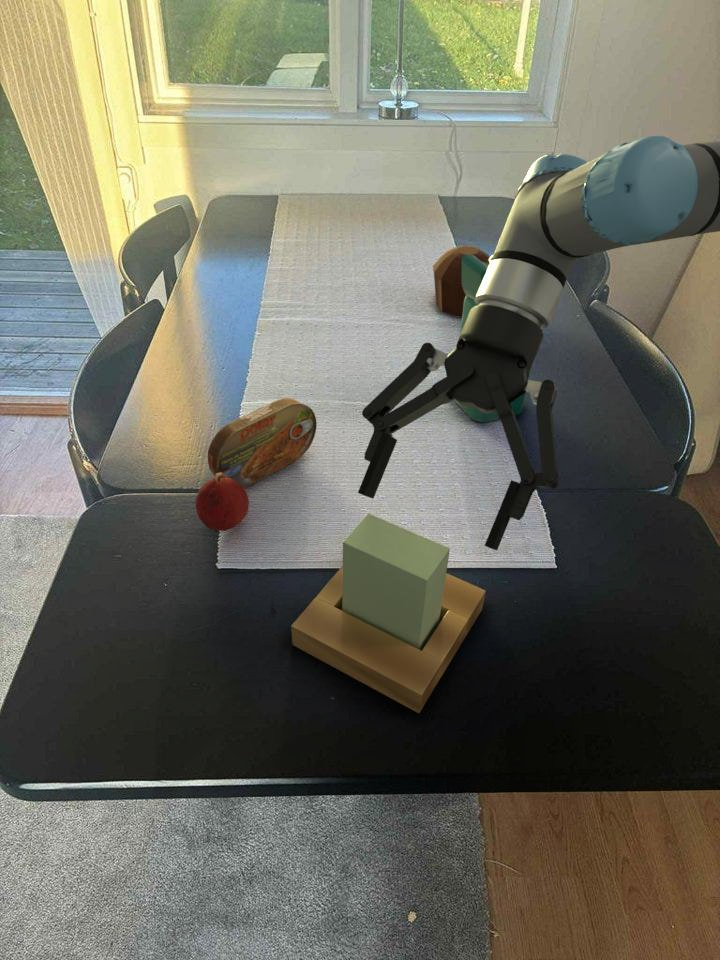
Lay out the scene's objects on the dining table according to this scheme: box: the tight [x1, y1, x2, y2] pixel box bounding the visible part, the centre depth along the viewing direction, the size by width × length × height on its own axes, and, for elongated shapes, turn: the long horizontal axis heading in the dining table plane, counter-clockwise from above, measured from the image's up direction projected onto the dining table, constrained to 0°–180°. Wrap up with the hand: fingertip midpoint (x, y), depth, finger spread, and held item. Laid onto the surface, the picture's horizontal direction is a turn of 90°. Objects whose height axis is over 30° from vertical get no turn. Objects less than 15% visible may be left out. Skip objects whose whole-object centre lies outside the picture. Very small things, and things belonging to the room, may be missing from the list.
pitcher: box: [453, 254, 533, 423], centre depth 93 cm, size 10×8×22 cm
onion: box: [195, 472, 250, 532], centre depth 78 cm, size 6×6×8 cm
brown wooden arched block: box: [432, 244, 491, 318], centre depth 121 cm, size 12×11×10 cm
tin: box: [207, 397, 318, 489], centre depth 86 cm, size 15×3×8 cm, turn 132°
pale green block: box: [342, 513, 451, 651], centre depth 66 cm, size 4×8×12 cm, turn 59°
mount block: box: [290, 565, 486, 714], centre depth 69 cm, size 14×14×3 cm
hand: (425, 521), depth 68 cm, fingers open, 13 cm apart
